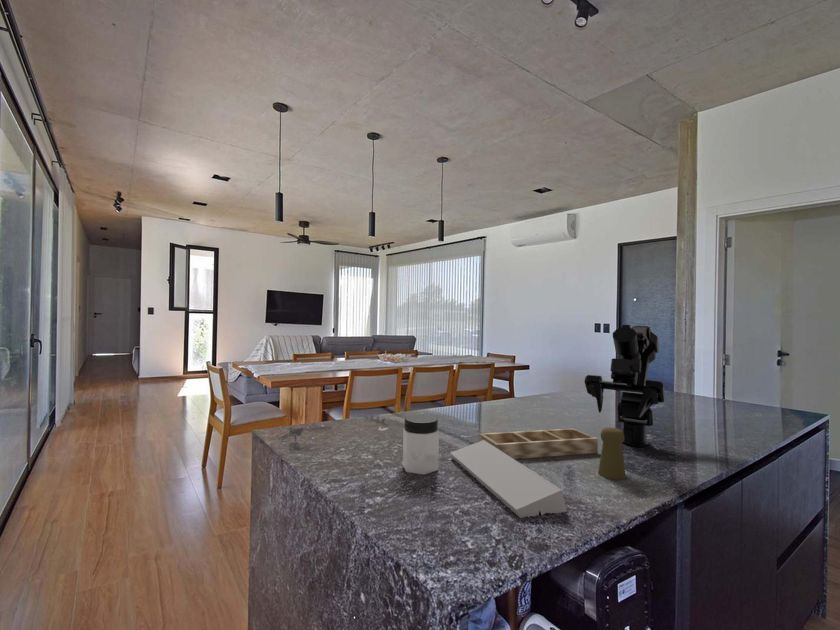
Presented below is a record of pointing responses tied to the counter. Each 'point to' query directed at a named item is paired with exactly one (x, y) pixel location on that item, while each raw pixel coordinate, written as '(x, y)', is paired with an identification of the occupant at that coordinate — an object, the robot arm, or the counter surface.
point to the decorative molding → (510, 480)
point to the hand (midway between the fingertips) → (618, 414)
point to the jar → (420, 444)
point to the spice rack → (542, 443)
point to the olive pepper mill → (612, 454)
